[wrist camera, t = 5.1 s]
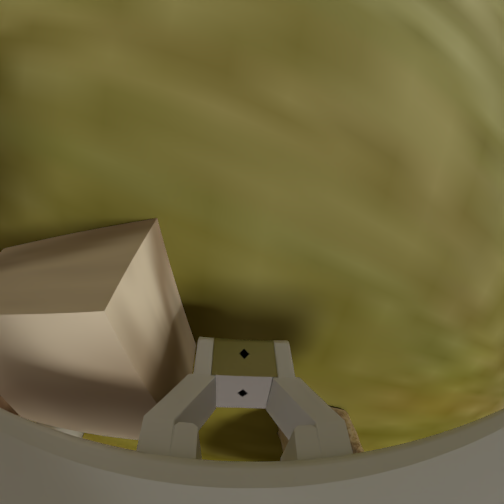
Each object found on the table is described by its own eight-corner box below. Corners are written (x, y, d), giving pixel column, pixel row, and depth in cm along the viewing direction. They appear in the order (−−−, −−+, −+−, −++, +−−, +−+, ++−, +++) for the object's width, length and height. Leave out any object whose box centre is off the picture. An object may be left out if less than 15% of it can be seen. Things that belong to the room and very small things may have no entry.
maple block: (6, 246, 10) (-59, 313, 6) (158, 216, 10) (104, 311, 6) (57, 344, 13) (22, 417, 9) (196, 342, 13) (183, 442, 9)
